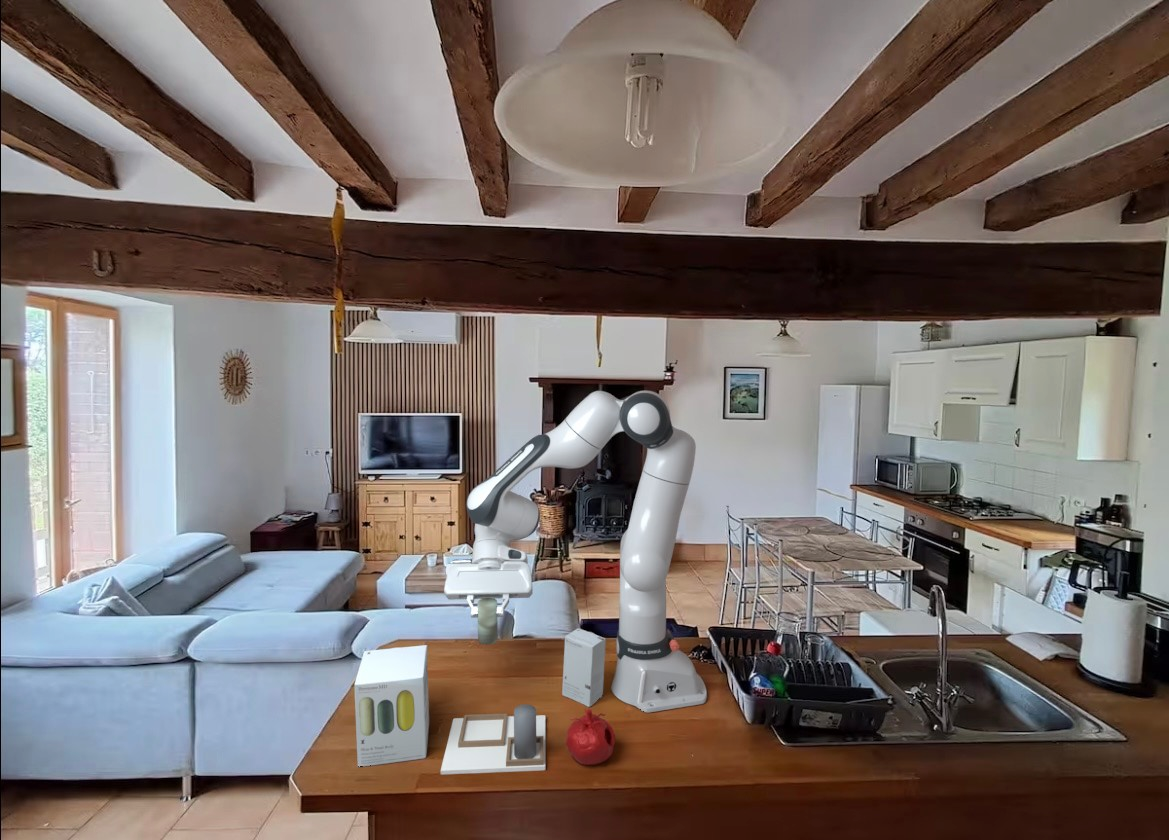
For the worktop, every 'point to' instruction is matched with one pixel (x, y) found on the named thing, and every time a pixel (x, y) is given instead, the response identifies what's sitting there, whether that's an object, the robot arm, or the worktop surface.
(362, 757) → the supplement box
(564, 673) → the skincare box
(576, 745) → the pomegranate
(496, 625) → the sage pin
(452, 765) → the board
